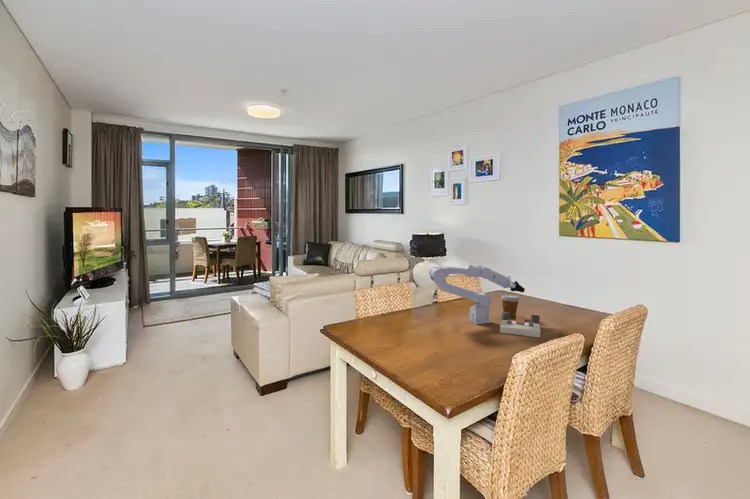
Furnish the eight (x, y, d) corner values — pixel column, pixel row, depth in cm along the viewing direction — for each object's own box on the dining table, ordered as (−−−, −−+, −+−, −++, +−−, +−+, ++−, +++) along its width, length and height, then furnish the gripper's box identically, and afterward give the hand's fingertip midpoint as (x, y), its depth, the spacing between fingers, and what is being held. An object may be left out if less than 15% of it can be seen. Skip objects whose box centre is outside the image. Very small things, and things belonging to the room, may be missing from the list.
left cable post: (505, 325, 191) (505, 314, 190) (500, 323, 195) (500, 312, 194) (511, 324, 192) (512, 313, 191) (506, 322, 196) (507, 311, 195)
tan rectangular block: (524, 324, 181) (524, 316, 183) (515, 323, 183) (516, 315, 184) (524, 325, 182) (524, 316, 184) (515, 324, 184) (516, 315, 185)
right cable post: (534, 328, 186) (535, 317, 185) (528, 326, 189) (529, 315, 189) (540, 328, 187) (541, 316, 186) (535, 325, 191) (535, 314, 190)
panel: (540, 337, 173) (540, 328, 173) (499, 332, 180) (500, 323, 179) (539, 329, 184) (539, 320, 184) (501, 325, 191) (501, 316, 190)
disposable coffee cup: (521, 319, 201) (522, 298, 200) (503, 319, 201) (504, 297, 200) (514, 314, 210) (515, 294, 209) (498, 314, 211) (499, 293, 209)
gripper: (508, 274, 188) (530, 285, 190) (496, 269, 202) (517, 279, 204) (502, 287, 188) (524, 297, 190) (490, 281, 203) (511, 291, 204)
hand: (520, 289), depth 197 cm, fingers open, 7 cm apart
